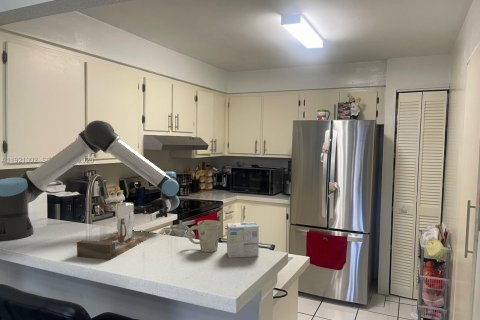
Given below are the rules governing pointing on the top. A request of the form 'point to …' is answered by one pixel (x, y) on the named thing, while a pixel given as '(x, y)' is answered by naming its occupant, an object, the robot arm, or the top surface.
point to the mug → (206, 235)
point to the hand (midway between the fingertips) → (136, 216)
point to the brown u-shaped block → (105, 247)
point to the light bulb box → (242, 239)
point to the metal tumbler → (125, 222)
